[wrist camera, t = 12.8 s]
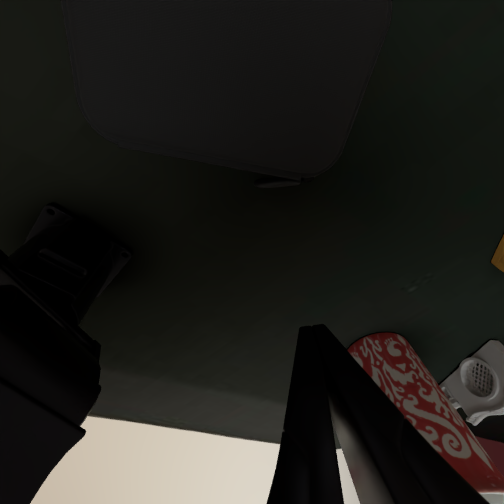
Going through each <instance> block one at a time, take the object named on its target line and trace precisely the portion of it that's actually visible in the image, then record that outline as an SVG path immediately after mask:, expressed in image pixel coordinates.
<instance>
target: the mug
mask: <svg viewBox="0 0 504 504" xmlns="http://www.w3.org/2000/svg"><path fill="white" fill-rule="evenodd" d="M347 351H348V352H349V353H350V354H351V355H352V356H353V358H354V359H355V360H356V361H357V362H358V363H359V364H360V366H361V367H362V368H363V369H364V370H365V371H366V372H367V374H368V375H369V376H370V377H371V378H372V379H373V380H374V382H375V383H376V384H377V385H378V386H379V387H380V388H381V389H382V391H383V392H384V393H385V394H386V395H387V396H388V397H389V399H390V400H391V401H392V402H393V403H394V404H395V405H396V407H397V408H398V409H399V410H400V411H401V412H402V413H403V415H404V416H405V418H407V419H408V420H409V421H410V422H411V424H412V425H413V426H414V427H415V428H416V429H417V430H418V431H419V433H420V434H421V435H422V436H423V437H424V438H425V439H426V440H427V441H428V442H429V443H430V445H431V446H432V447H433V448H434V449H435V450H436V451H437V452H438V453H439V454H440V455H441V456H442V457H443V458H444V459H445V460H446V461H447V462H448V463H449V464H450V465H451V466H452V467H453V468H454V469H455V470H456V471H457V472H458V473H459V474H460V475H461V476H462V477H463V478H464V479H465V480H466V481H467V482H468V483H469V484H470V485H471V486H472V487H473V488H474V489H475V490H476V491H477V492H478V493H479V494H481V495H482V496H483V497H484V498H485V499H486V500H487V501H488V502H489V503H490V504H504V477H503V476H502V474H501V473H500V472H499V470H498V469H497V467H496V466H495V465H494V463H493V462H492V460H491V459H490V457H489V456H488V455H487V453H486V452H485V450H484V449H483V447H482V446H481V445H480V443H479V442H478V441H477V439H476V437H475V436H474V435H473V433H472V432H471V431H470V429H469V428H468V426H467V425H466V424H465V422H464V421H463V419H462V418H461V416H460V415H459V414H458V412H457V411H456V409H455V408H454V406H453V405H452V404H451V402H450V401H449V399H448V398H447V397H446V395H445V393H444V392H443V391H442V389H441V388H440V387H439V385H438V384H437V382H436V381H435V379H434V378H433V377H432V375H431V374H430V372H429V371H428V370H427V368H426V367H425V365H424V364H423V363H422V361H421V360H420V358H419V357H418V356H417V354H416V353H415V351H414V350H413V348H412V347H411V345H410V344H409V343H408V341H407V340H406V339H405V338H404V337H402V336H401V335H399V334H395V333H388V332H385V333H376V334H371V335H369V336H366V337H363V338H361V339H359V340H358V341H356V342H355V343H354V344H352V345H351V346H350V347H349V349H348V350H347ZM405 418H404V419H405Z"/></svg>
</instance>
